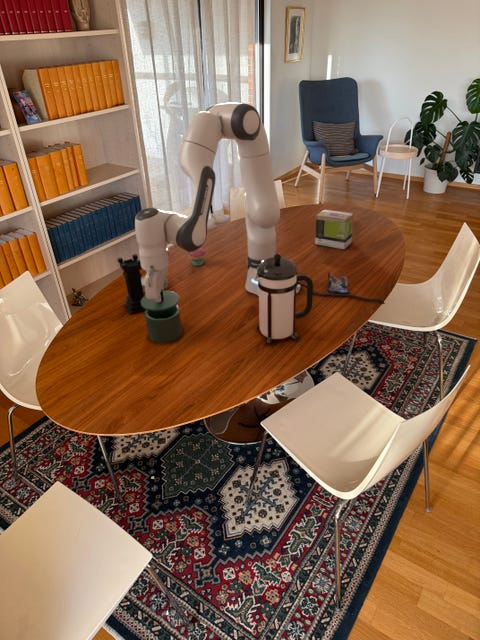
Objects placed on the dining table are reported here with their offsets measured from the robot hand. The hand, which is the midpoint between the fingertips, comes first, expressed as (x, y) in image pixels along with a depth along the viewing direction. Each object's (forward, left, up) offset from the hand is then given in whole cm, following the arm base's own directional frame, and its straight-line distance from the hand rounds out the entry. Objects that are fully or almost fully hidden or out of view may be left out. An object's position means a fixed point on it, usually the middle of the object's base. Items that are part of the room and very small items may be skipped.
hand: (159, 298), depth 156 cm
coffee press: (-40, 0, -15) cm, 43 cm away
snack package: (-64, -31, -15) cm, 73 cm away
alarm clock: (+11, -34, -15) cm, 39 cm away
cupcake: (-5, -57, -15) cm, 59 cm away
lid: (0, 0, -1) cm, 1 cm away
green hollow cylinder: (0, 0, -15) cm, 15 cm away
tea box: (-68, -76, -15) cm, 103 cm away
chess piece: (+14, -19, -15) cm, 28 cm away
